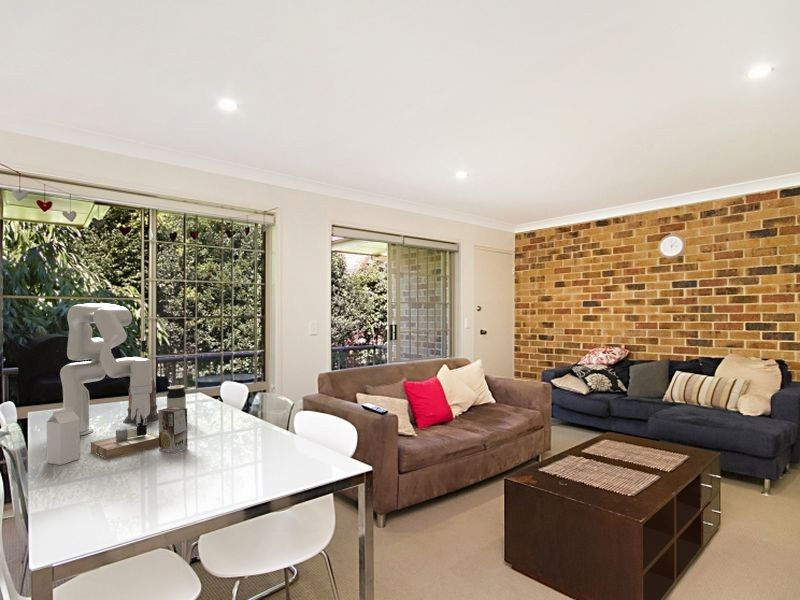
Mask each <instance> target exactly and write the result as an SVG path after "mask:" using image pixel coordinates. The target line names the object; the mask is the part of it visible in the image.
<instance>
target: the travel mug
mask: <svg viewBox="0 0 800 600" xmlns="http://www.w3.org/2000/svg"><path fill="white" fill-rule="evenodd" d="M167 391H168V392H167V394H166V408H168V407H179V408H186V406H187V405H186V391H185V385H183V384H181V385H179V384H177V385H176V384H175V385H171V386H170V385H169V386H167Z"/></svg>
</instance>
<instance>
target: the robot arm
mask: <svg viewBox="0 0 800 600" xmlns="http://www.w3.org/2000/svg"><path fill="white" fill-rule="evenodd" d="M66 317H67V322H68V329H69V330H68V338H67V339H68V340H67V347H66V350H67V351H66V355H67V358H68V359H69V360H72V361H77V362H71V363H67V364H66V365H63V367H61V369H60V372H59V376H60V381H61V385H62V398H63V399H62V400H63V401H62V402H63V403H62V405H63V406H62V407H63V409H62V410H64V409H68V408H73V411H74V412H75V414H76V415H77V416H78V418H79V425H80V436H85V435H88V434H91V433H93V432H94V431H95V430H94V429H95V428H94V427H92V426H90V392H89V389H87V386H85V384H86V383H92V382H98V381H101V380H103V379H104V378H105V376H108V377H109V378H112V379H116V378H124V377H125V378H126V377H129V378H130V382H129V386H130V385H131V395H132V404H131V419H132V420H134V419H135V418H136V419H137V422H136V423H137V424H136V428H137V436H144V435H146V434H147V432H148V423H147V416H148V415H149V414H150V394H149V393H152V378H153V375H152V374H153V373H152V371H153V368H152V364H153V363H152V360H151V359H150V358H145V357H143V358H142V357H141V356H140V357H139V356H132V357H121V358H115V356H114V354H113V353H112V349H113V348H116V347H117V346H120V345H121V344H122V343H124V342H125V341H126V340H127V337H128V336H127V333H126V331H125V328H124V327H128V326H130V324H131V323H132V321H133V316H132V313H131V311H130V310H129V309H128V308H126V307H125V306H120V305H117V304H111V303H83V304H82V303H80V304H75V305H72V306H71V307H70V308H69V309H68V311H67V315H66ZM91 324H94V325H95V326H96V327H97V330H98V332H99V334H100V337H93V328H92V326H91ZM84 360H85V361H84ZM87 360H88V361H87ZM89 360H90V361H89ZM78 361H80V362H78Z"/></svg>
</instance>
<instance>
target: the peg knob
mask: <svg viewBox="0 0 800 600" xmlns="http://www.w3.org/2000/svg"><path fill="white" fill-rule="evenodd" d="M115 437H116V441H117V442H120V441H125V440H128V438H132V437H138V436H137V427H135V428H131V429H128V428H119V429H116V430H115Z"/></svg>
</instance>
